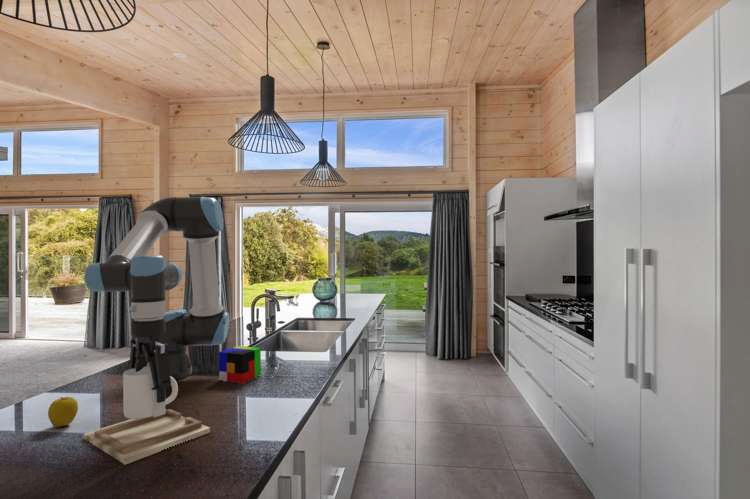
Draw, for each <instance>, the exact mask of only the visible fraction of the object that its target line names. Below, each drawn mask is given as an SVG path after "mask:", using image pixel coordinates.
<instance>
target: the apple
mask: <svg viewBox="0 0 750 499" xmlns="http://www.w3.org/2000/svg"><path fill="white" fill-rule="evenodd" d="M78 409H79V405H78V401H77V400H76V399H75V398H73V397H71V396H65V397H62V396H61V397H59V398H57V399H55V400H54V401H53V402H51V404H50V405H49V407H48V409H47V410H48V411H47V417H48V419H49V421H50V424H51V425H52V426H54V427H55V428H56V427H57V428H58V427H63V426H64V427H65V426H68V425H70V424H71V423H72V422H73V421H74V420H75V418H76V416H77V414H78Z"/></svg>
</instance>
